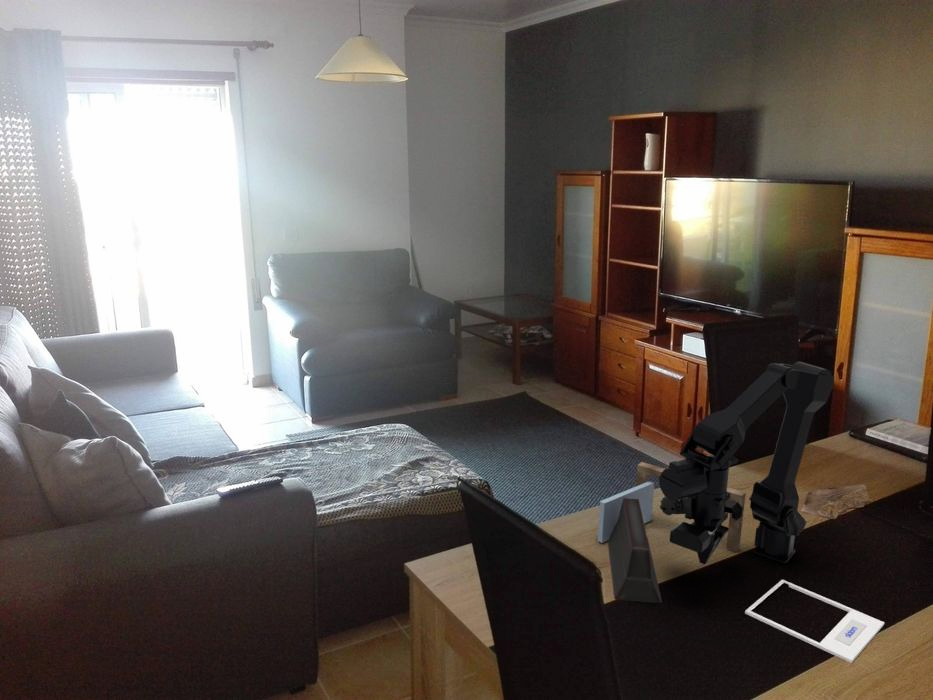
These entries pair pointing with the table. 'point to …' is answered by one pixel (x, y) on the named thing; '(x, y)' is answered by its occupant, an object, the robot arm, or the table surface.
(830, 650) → the photo frame
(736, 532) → the door frame
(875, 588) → the table surface
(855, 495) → the wooden fragment
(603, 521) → the door
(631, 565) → the barrier
